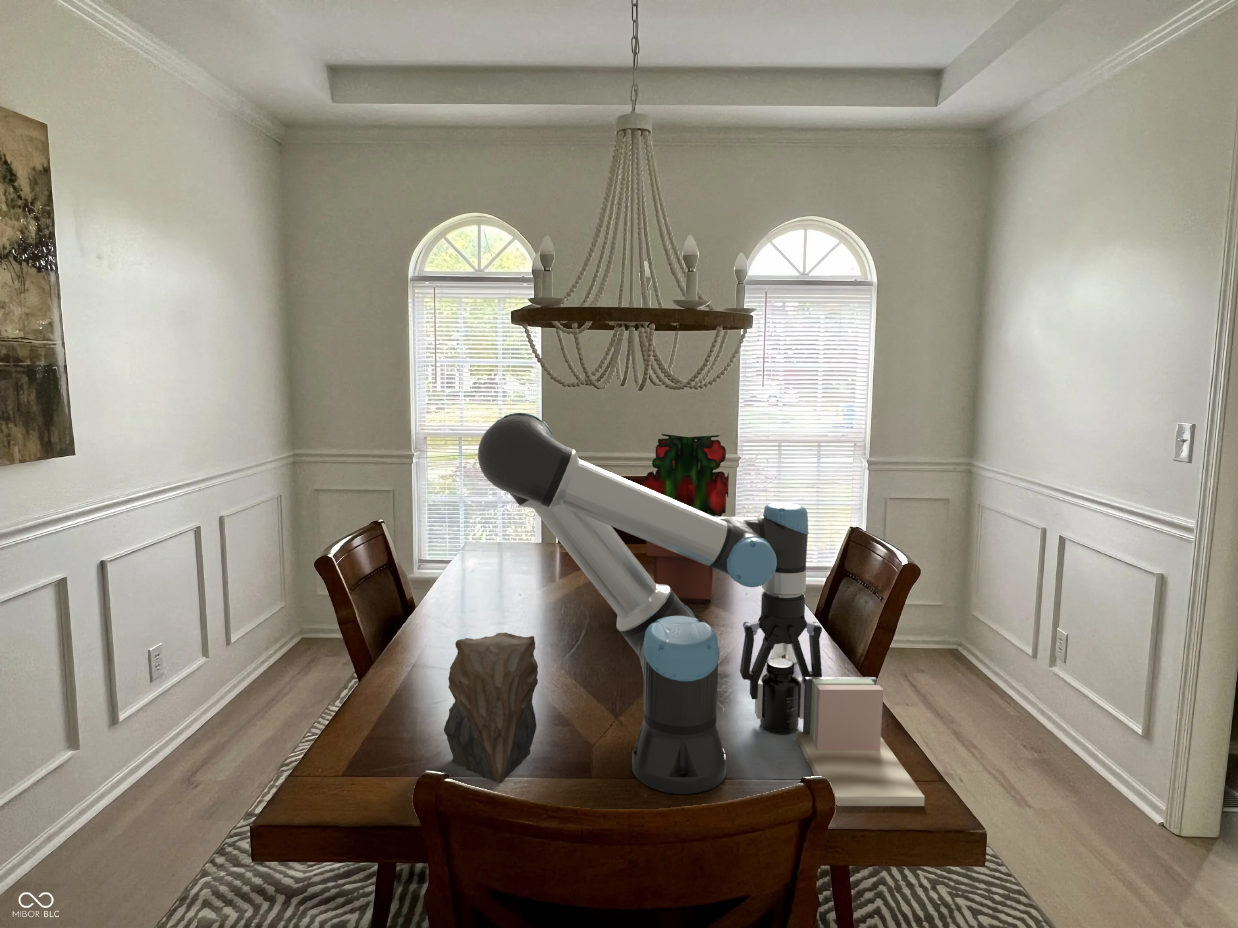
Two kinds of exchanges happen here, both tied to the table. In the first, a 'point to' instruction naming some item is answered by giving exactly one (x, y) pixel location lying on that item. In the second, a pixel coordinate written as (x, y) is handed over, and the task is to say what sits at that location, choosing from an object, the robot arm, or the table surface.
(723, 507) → the potted plant
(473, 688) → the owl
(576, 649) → the table surface
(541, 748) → the table surface
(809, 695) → the bookend
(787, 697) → the supplement bottle
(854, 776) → the shelf board
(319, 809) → the table surface
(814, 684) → the book row
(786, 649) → the beer glass
